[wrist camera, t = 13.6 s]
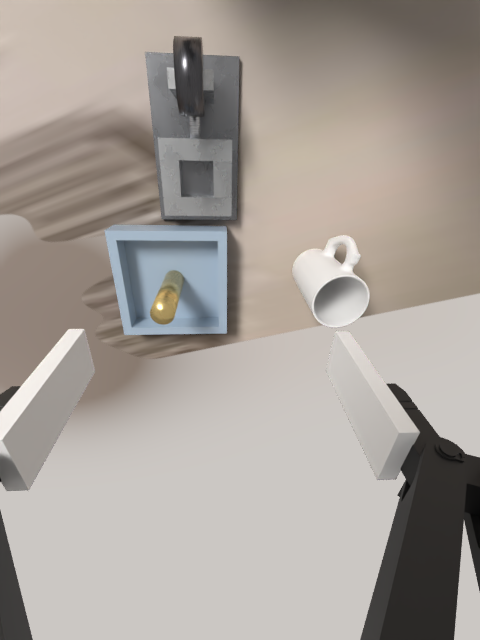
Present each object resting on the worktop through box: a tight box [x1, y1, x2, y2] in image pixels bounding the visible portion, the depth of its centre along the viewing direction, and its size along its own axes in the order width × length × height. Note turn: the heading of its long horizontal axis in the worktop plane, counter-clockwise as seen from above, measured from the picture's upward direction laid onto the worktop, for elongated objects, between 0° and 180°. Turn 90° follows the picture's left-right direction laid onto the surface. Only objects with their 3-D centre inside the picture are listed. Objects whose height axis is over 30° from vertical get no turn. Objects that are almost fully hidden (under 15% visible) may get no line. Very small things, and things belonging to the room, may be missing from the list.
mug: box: [292, 235, 370, 328], centre depth 39 cm, size 10×7×12 cm, turn 164°
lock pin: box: [150, 270, 184, 325], centre depth 39 cm, size 3×3×11 cm
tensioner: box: [145, 36, 239, 220], centre depth 33 cm, size 17×10×8 cm, turn 179°
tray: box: [105, 225, 227, 335], centre depth 43 cm, size 15×15×4 cm
